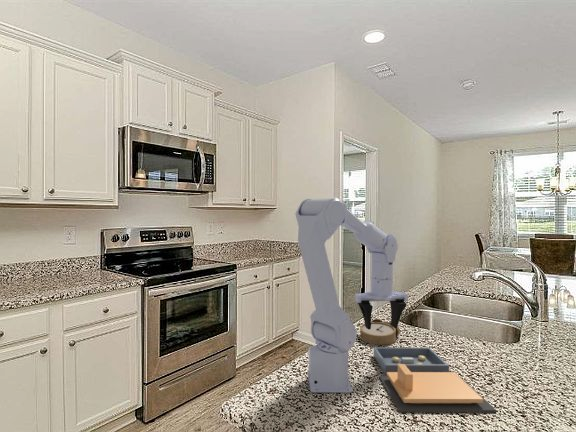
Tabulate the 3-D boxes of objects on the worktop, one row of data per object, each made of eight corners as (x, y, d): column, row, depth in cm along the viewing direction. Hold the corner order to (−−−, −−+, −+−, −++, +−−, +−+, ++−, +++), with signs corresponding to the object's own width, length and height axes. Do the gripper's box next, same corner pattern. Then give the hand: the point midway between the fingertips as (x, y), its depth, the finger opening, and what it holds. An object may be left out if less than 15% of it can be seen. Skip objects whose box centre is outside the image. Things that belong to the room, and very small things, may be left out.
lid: (403, 406, 69) (404, 382, 69) (386, 378, 81) (386, 357, 81) (483, 406, 69) (483, 382, 69) (454, 378, 81) (454, 357, 81)
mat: (399, 412, 68) (399, 409, 68) (379, 378, 82) (379, 376, 82) (496, 412, 68) (496, 410, 68) (459, 378, 82) (460, 376, 82)
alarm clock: (353, 330, 107) (375, 312, 118) (354, 344, 108) (376, 325, 119) (385, 339, 100) (406, 319, 111) (386, 354, 100) (406, 333, 111)
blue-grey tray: (385, 375, 83) (385, 365, 83) (373, 356, 94) (373, 347, 94) (448, 375, 84) (449, 365, 84) (429, 356, 95) (429, 347, 95)
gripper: (362, 281, 85) (361, 334, 86) (414, 280, 88) (413, 331, 88) (352, 276, 92) (351, 324, 93) (401, 275, 95) (400, 322, 95)
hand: (381, 327), depth 91 cm, fingers open, 7 cm apart
